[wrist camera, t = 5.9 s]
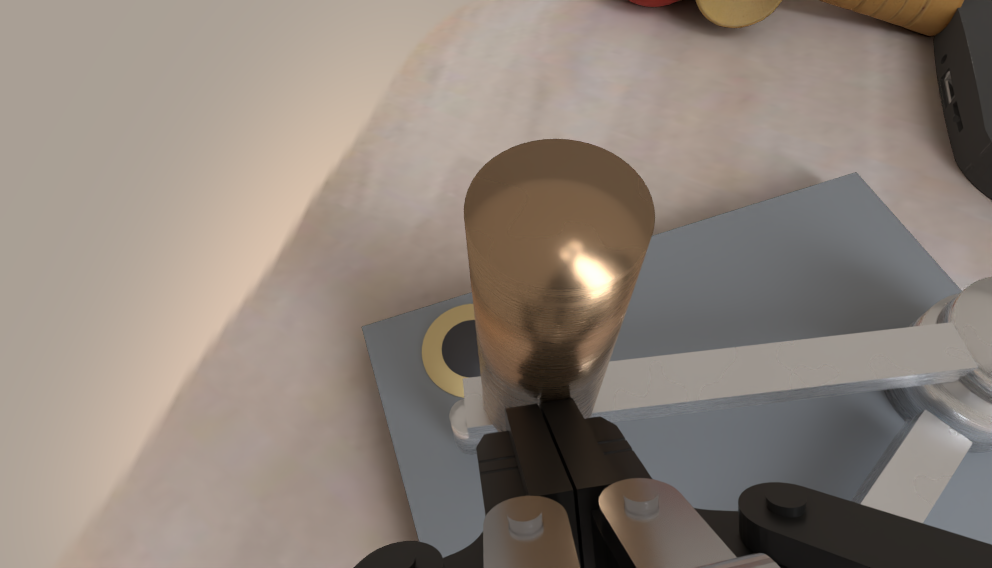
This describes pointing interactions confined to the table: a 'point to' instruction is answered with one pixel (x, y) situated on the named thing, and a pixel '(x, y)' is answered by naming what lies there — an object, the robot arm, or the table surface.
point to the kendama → (908, 3)
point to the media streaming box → (968, 88)
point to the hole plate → (699, 327)
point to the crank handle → (606, 295)
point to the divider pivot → (926, 442)
